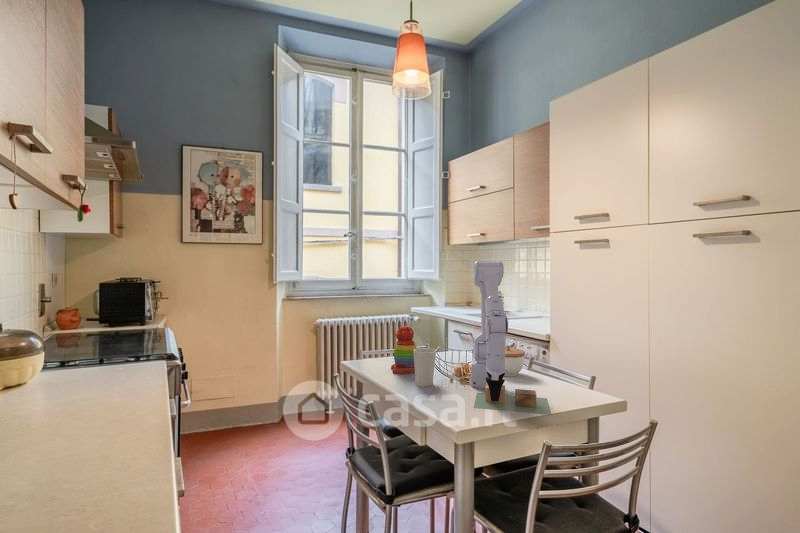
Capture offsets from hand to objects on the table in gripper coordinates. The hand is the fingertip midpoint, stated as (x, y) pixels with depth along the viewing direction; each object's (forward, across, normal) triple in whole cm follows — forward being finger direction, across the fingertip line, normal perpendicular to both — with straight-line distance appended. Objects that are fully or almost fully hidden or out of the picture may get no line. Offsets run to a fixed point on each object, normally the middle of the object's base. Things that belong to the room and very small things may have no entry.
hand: (495, 397), depth 142 cm
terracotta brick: (+1, 0, 0) cm, 1 cm away
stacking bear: (+2, +31, +36) cm, 48 cm away
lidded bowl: (+2, +38, -4) cm, 38 cm away
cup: (+2, +14, +25) cm, 29 cm away
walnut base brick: (+1, -3, -9) cm, 10 cm away
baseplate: (+1, -2, -5) cm, 6 cm away
